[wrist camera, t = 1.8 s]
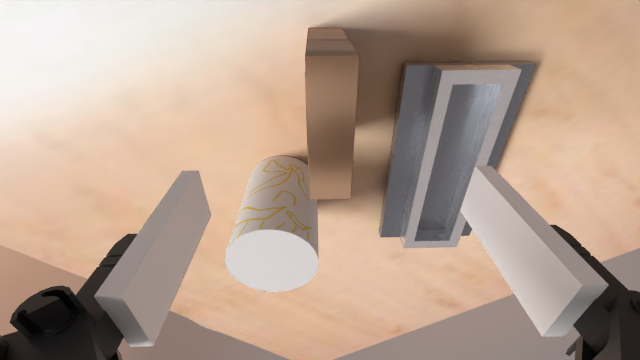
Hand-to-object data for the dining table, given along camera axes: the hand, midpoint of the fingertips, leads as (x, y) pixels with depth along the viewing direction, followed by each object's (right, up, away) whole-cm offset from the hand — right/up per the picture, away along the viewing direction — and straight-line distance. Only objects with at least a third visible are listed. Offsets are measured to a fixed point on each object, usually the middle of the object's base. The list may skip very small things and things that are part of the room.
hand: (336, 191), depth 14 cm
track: (+13, +3, +20) cm, 24 cm away
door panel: (0, +10, +14) cm, 18 cm away
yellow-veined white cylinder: (-5, 0, +21) cm, 22 cm away
